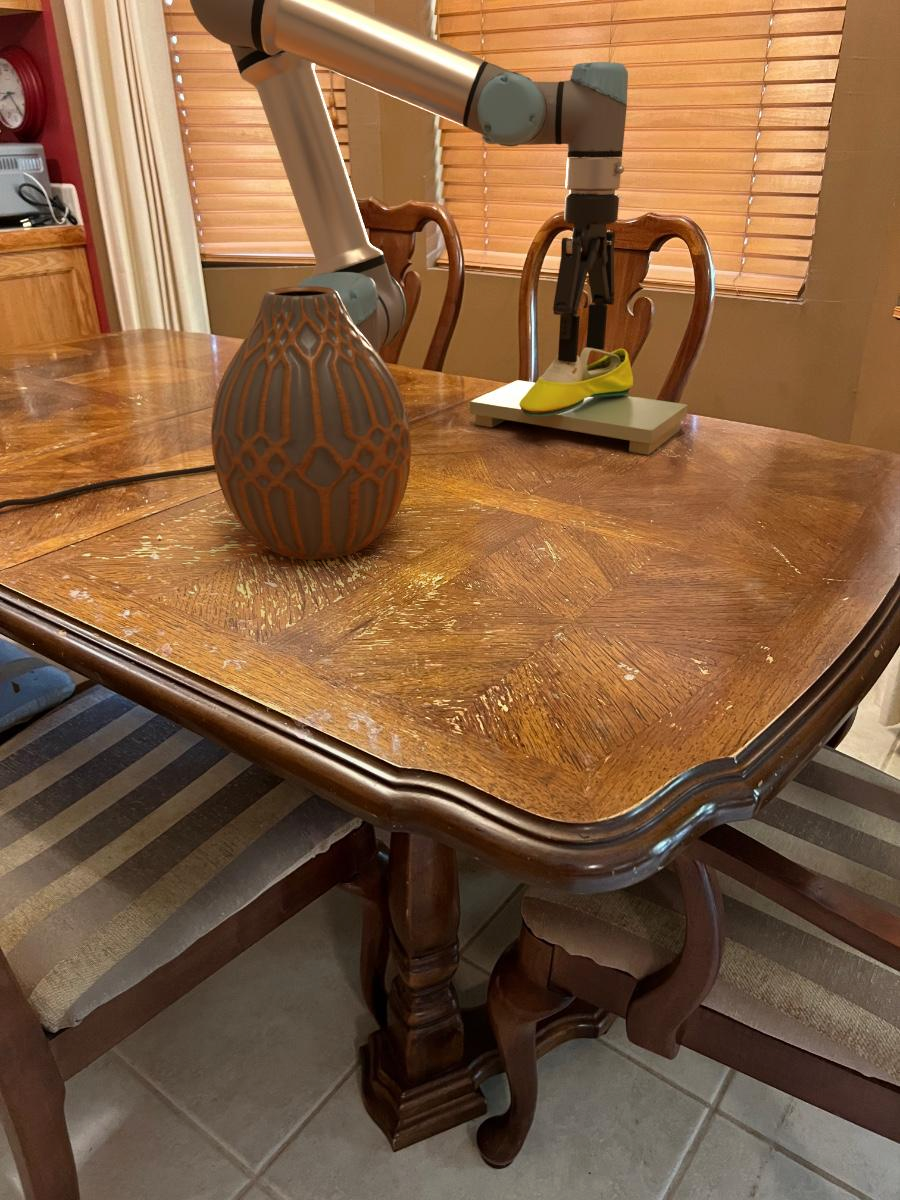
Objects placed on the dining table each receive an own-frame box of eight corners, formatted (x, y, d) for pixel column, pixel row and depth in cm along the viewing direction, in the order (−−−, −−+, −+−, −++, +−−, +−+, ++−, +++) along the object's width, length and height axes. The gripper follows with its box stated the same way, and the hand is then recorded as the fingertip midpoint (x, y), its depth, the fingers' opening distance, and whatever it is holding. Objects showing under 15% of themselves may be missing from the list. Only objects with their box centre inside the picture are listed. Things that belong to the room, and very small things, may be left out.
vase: (288, 494, 111) (266, 272, 98) (440, 517, 104) (439, 282, 91) (186, 560, 93) (144, 301, 80) (361, 593, 86) (346, 315, 74)
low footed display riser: (649, 457, 123) (652, 430, 122) (469, 426, 137) (469, 401, 136) (685, 429, 135) (688, 404, 134) (516, 403, 149) (517, 380, 148)
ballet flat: (502, 411, 129) (504, 356, 125) (604, 386, 144) (608, 336, 140) (542, 422, 124) (545, 365, 120) (643, 395, 138) (649, 344, 135)
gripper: (584, 196, 110) (573, 372, 121) (646, 189, 127) (631, 344, 138) (532, 195, 114) (526, 365, 124) (598, 188, 131) (588, 339, 141)
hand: (581, 354), depth 131 cm, fingers closed on ballet flat, 10 cm apart
